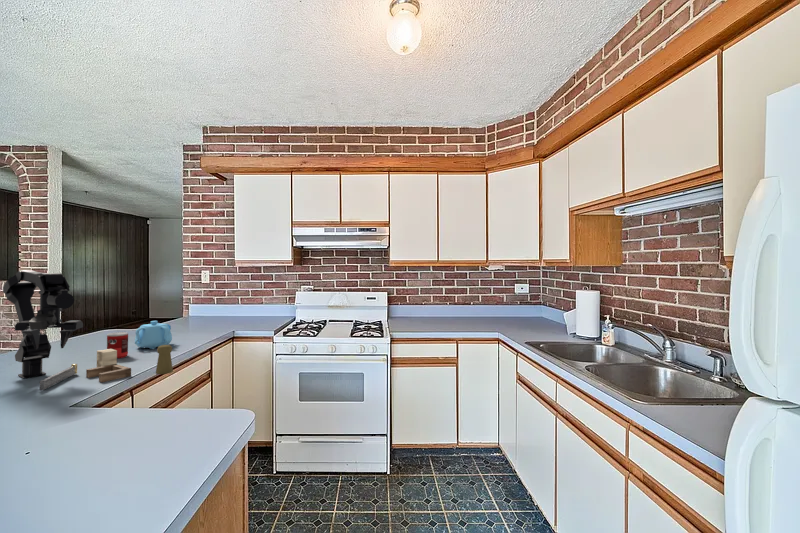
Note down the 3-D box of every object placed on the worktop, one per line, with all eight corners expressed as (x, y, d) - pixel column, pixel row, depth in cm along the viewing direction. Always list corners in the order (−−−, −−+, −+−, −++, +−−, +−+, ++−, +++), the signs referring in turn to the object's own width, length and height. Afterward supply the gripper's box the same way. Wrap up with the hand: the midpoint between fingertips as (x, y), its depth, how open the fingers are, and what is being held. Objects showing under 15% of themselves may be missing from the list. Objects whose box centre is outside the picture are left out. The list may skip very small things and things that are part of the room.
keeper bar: (72, 372, 153) (72, 364, 153) (78, 372, 154) (78, 363, 154) (38, 390, 133) (38, 379, 133) (44, 389, 133) (45, 379, 133)
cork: (169, 369, 163) (169, 343, 163) (175, 372, 159) (175, 345, 159) (153, 372, 159) (153, 345, 159) (158, 375, 155) (159, 347, 155)
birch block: (96, 370, 159) (96, 350, 159) (110, 367, 164) (110, 348, 164) (102, 372, 157) (102, 352, 157) (116, 369, 161) (116, 350, 161)
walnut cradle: (86, 377, 150) (86, 369, 150) (115, 371, 159) (115, 363, 159) (101, 382, 144) (101, 374, 144) (131, 375, 153) (131, 368, 153)
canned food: (104, 356, 181) (105, 333, 181) (125, 354, 187) (125, 331, 187) (108, 359, 176) (109, 335, 176) (129, 357, 182) (130, 333, 182)
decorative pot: (167, 349, 199) (168, 322, 199) (130, 351, 194) (131, 323, 194) (174, 343, 214) (175, 318, 214) (140, 344, 209) (141, 319, 209)
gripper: (3, 309, 135) (3, 354, 135) (68, 309, 140) (67, 352, 140) (25, 305, 145) (24, 347, 146) (84, 305, 150) (83, 346, 151)
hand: (49, 348), depth 145 cm, fingers open, 8 cm apart
